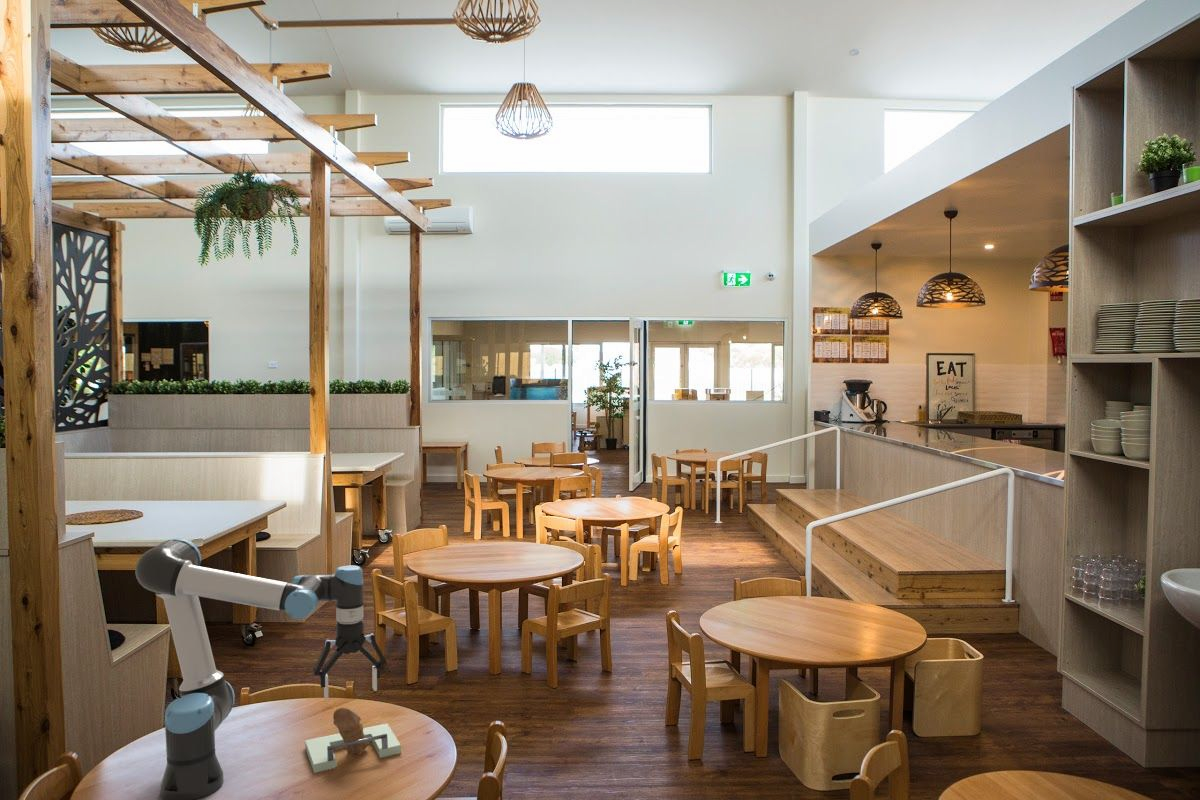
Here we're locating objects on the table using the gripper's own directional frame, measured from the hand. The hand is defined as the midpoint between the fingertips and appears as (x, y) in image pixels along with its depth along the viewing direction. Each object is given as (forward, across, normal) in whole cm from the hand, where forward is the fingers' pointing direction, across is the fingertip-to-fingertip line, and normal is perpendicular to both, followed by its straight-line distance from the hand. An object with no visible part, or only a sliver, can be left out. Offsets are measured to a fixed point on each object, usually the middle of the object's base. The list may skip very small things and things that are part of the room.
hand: (350, 693), depth 241 cm
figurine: (+18, 0, 0) cm, 18 cm away
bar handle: (+15, +1, -6) cm, 16 cm away
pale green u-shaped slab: (+18, +1, +2) cm, 18 cm away
